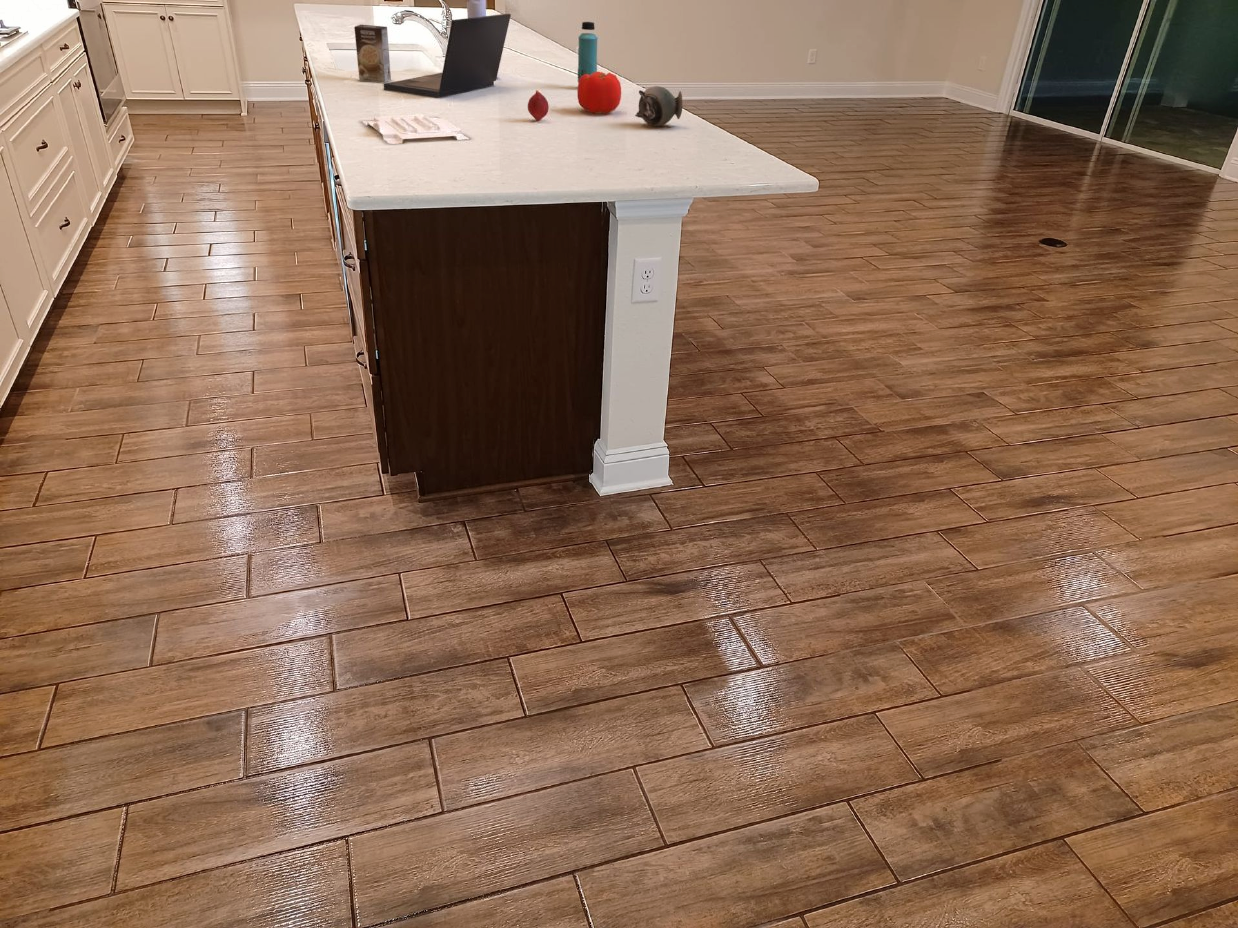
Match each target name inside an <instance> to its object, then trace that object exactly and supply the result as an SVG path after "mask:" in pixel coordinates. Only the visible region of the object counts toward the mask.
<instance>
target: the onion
mask: <svg viewBox="0 0 1238 928" xmlns="http://www.w3.org/2000/svg"><path fill="white" fill-rule="evenodd" d="M549 109H550V107H549V101H548V100H547V98H546V97H545V95H543V94H542V93H541V92H540V91H539V89H535V93H534V94H532V95H531V97H529V100H528V102H527V111H528V113H529V114H530V116H532V118H534V120H535V121H537V122H539V121H541V120H543V118H545V117H546V116H547V115H548V113H549Z"/></svg>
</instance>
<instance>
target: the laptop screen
mask: <svg viewBox="0 0 1238 928" xmlns="http://www.w3.org/2000/svg"><path fill="white" fill-rule="evenodd" d="M511 15H512V14H511V13H501V14H491V15H486V16H483V17H474V18H468V17H465V18H458V19H452V20H451V23H450V30H449V35H448V40H447V46H446V52H445V57H444V61H443V68H442V72H441V73H442V77H441V83H440V88H439V92H440V93H443V92H447V91H452V90H456V89H461V88H466V87H470V86H475V85H479V84H484V83H488V82H493V81H494V82H497V79H496V78H497V77H498V73H499V70H500V65H501V61H502V56H503V52H504V47H505V43H506V39H507V34H508V29H509V24H510V20H511V17H512V16H511Z"/></svg>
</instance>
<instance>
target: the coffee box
mask: <svg viewBox="0 0 1238 928" xmlns="http://www.w3.org/2000/svg"><path fill="white" fill-rule="evenodd" d="M353 29H354V38H355V48H356V59H357V70H358V81H360V82H370V83H371V82H372V83H382V84H385V83H389V82H391V81H392V76H391V75H392V74H391V62H390V59H391V58H390V47H389V35H388V27H387V26H383V25H371V24H370V25H369V24H359V25H355V26H354V28H353Z"/></svg>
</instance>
